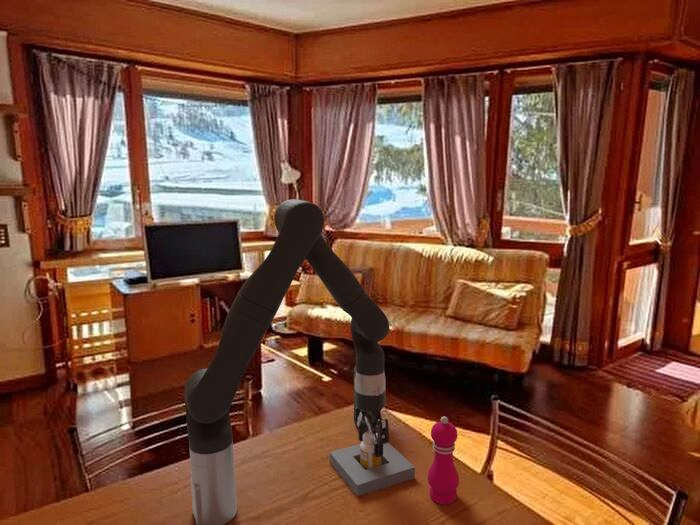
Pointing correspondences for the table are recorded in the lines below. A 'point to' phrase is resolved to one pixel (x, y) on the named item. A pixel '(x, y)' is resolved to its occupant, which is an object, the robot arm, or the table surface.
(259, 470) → the table surface
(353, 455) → the socket block
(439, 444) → the pepper mill
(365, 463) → the supplement bottle
